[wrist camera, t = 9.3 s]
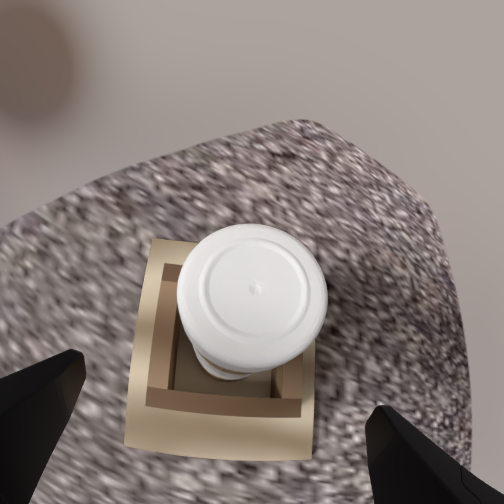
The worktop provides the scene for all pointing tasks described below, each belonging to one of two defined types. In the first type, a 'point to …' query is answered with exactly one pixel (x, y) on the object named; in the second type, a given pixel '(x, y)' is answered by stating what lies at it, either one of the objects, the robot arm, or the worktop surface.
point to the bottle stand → (208, 386)
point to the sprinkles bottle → (250, 300)
